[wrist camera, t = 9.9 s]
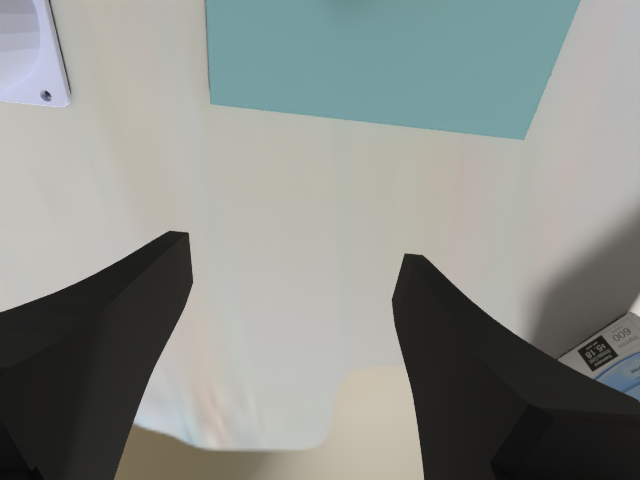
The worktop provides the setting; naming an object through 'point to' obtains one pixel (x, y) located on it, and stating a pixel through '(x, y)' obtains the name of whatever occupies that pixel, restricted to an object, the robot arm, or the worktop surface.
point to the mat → (389, 59)
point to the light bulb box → (611, 356)
